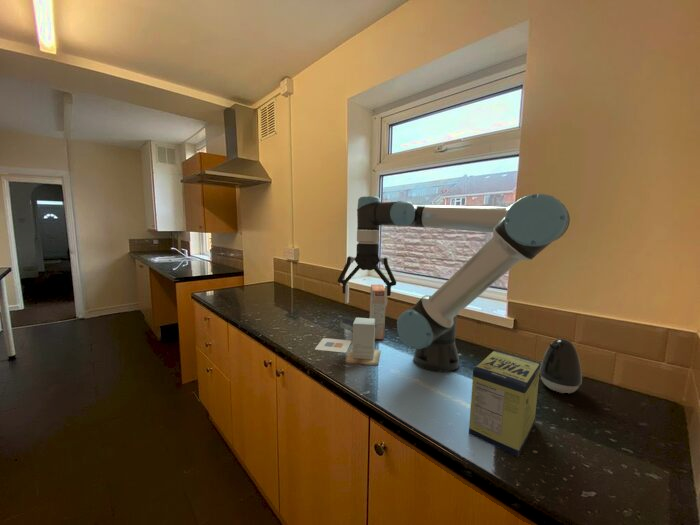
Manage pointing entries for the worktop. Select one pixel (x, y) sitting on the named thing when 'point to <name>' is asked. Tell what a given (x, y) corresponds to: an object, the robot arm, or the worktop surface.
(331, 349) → the tile
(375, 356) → the oak coaster
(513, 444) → the protein box
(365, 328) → the supplement box
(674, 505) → the worktop surface
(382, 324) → the cracker box
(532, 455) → the worktop surface
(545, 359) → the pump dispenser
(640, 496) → the worktop surface
